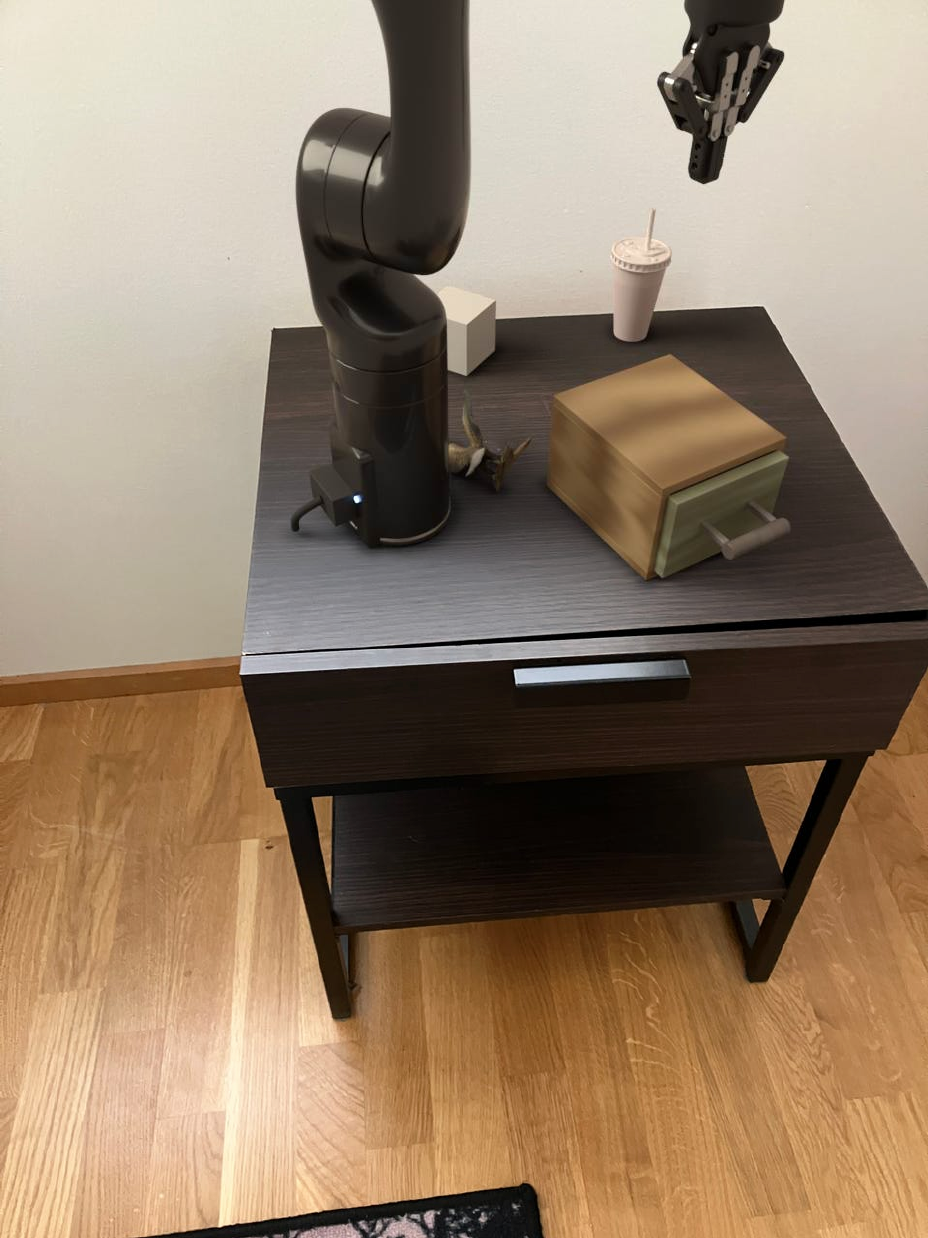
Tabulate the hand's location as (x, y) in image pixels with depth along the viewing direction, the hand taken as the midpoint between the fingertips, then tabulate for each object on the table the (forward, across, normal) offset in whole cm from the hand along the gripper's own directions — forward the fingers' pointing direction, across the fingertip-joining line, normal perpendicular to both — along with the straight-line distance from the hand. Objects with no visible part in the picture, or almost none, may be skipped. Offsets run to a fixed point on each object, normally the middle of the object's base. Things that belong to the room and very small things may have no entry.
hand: (702, 179), depth 84 cm
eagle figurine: (+22, +24, -2) cm, 32 cm away
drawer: (+21, +15, +16) cm, 30 cm away
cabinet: (+22, +14, +12) cm, 29 cm away
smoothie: (+22, -5, -11) cm, 25 cm away
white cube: (+22, +13, -19) cm, 32 cm away
